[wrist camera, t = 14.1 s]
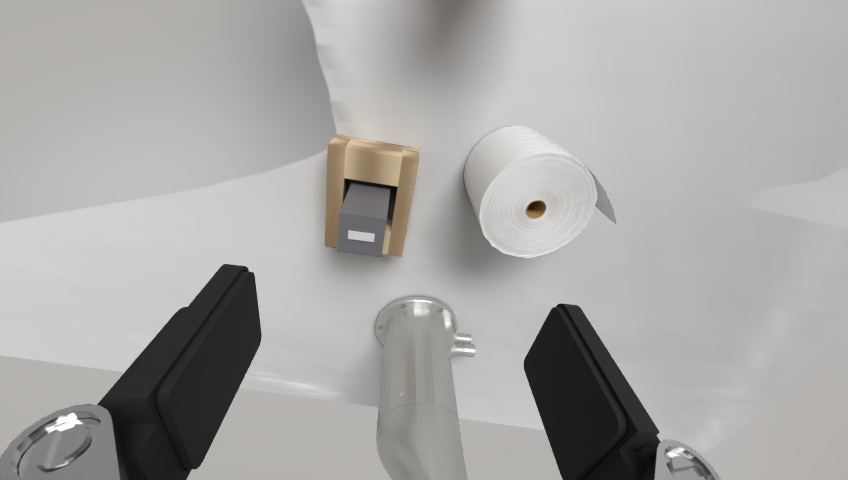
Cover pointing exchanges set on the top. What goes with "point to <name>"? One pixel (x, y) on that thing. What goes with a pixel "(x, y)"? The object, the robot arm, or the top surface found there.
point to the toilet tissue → (530, 192)
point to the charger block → (363, 218)
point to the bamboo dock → (375, 166)
